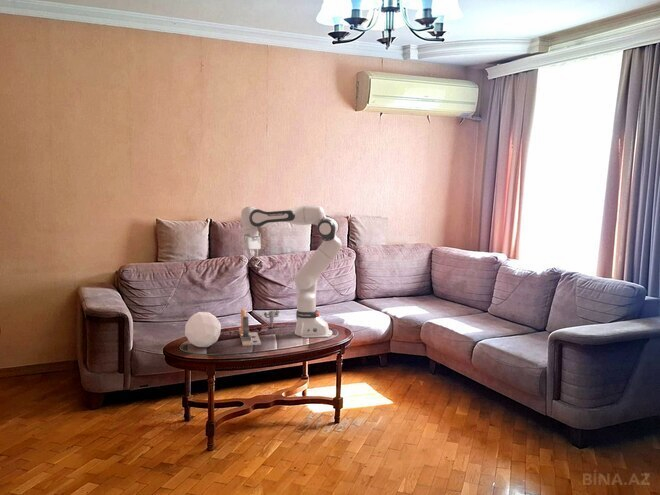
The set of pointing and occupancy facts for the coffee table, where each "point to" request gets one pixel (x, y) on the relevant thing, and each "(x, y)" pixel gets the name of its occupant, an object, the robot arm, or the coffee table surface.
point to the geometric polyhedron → (202, 329)
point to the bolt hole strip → (254, 339)
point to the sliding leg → (243, 313)
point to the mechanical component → (271, 316)
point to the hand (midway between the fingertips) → (253, 257)
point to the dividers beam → (245, 332)
